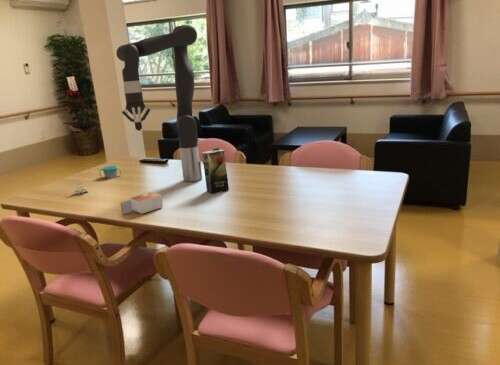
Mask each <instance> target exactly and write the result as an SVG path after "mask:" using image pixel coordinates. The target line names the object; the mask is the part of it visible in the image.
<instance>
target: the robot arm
mask: <svg viewBox="0 0 500 365" xmlns="http://www.w3.org/2000/svg"><path fill="white" fill-rule="evenodd" d="M197 39H198V32H197V30H196V28H195V27H194V26H193V25H189V24H184V25H177V26H175V27H174V28H173V30H172V32H168V33H165V34H160V35H156V36H155V35H154V36H151V37H146V38H143V39H141V40H138V41H134V42H130V43H127V44H126V43H125V44H121V45H119V47H117V49H116V53H115V54H116V57H117V59H118V60H120V61H121V62H124V67H123V69H122V70H121V72H122V73H121V75H122V81H123V92H124V97H125V98H124V99H125V103H126V104H125V109H124V110H122V111H121V114H123V115H124V116H125V117H126V118H127V119H128V121H130V122H131V123H134V126H135V130H137V131H138V132H139V131H142V129H143V125H142V122H143V121H145V120H146V118H147V116H148V115H149V114H150V111H151V108H148V107H147V106H146V104H145V102H144V98H143V97H144V96H143V88H142V83H141V80H140V79H141V78H140V72H139V69H140V68H139V67H140V58H143V57H148V56H151V55H154V54H157V53H160V52H162V51H166V50H169V49H173V55H174V83H175V84H174V85H175V86H174V87H175V94H176V95H175V97H176V104H177V106H176V107H177V111H176V127H177V131H178V139H179V142H178V145H179V154H180V162H181V168H182V177H183V181H184V182H196V181H199V180H203V173H202V165H201V160H200V153H199V144H198V142H199V139H198V137H199V136H198V128H197V127H198V125H197V122H196V119H195V118H194V114H193V99H194V94H195V73H194V70H193V67H192V65H191V63H190V59H189V56H188V46H191V45H194V44H195V43H196V42H197ZM128 112H129V114H130V115H132V117H133V118H132V117H131V116H130V115H129V114H128ZM143 112H144V113H143ZM142 113H143V115H142Z"/></svg>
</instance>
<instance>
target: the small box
mask: <svg viewBox="0 0 500 365" xmlns="http://www.w3.org/2000/svg"><path fill="white" fill-rule="evenodd" d="M130 201H131V205H132V210H134V211H136V212H138V213H139V214H141V215H142V214H145V213H147V212H152V211H155V210H158V209H161V208H164V207H163V206H164V204H163V197H162V194H160V193H157V192H153V191H149V192H147V193H143V194H140V195H136V196H133V197H130Z"/></svg>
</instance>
